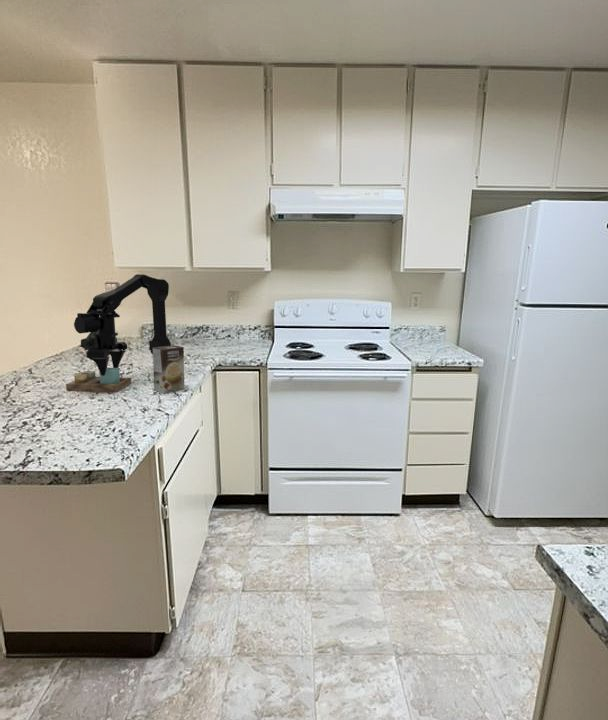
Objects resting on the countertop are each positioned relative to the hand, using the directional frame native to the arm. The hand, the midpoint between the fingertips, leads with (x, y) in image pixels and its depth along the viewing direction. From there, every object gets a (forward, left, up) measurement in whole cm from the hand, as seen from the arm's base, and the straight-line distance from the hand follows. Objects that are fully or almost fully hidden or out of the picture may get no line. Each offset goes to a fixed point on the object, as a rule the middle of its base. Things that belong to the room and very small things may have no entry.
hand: (109, 372), depth 149 cm
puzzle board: (+4, 0, -6) cm, 7 cm away
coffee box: (-22, 0, -6) cm, 23 cm away
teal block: (0, 0, -5) cm, 5 cm away
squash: (+35, -62, -6) cm, 71 cm away
